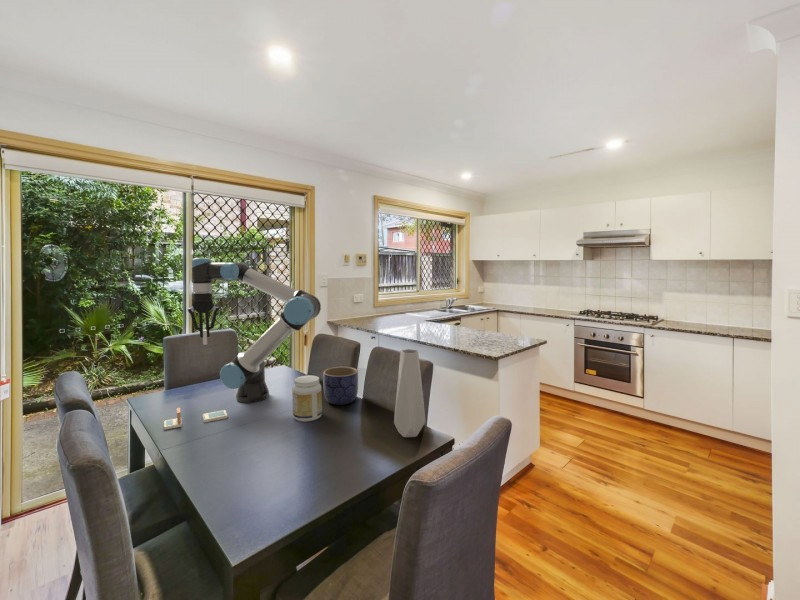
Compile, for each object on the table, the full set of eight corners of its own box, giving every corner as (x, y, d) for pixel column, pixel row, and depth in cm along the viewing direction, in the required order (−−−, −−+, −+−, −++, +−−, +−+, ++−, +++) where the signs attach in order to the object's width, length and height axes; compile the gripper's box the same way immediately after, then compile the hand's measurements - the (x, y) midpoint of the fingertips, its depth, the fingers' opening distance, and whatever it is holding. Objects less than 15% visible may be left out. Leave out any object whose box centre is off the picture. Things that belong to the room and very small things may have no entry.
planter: (365, 399, 183) (365, 369, 182) (342, 410, 170) (342, 378, 168) (339, 393, 192) (339, 364, 191) (316, 403, 178) (315, 372, 177)
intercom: (181, 420, 158) (180, 407, 157) (181, 426, 152) (181, 412, 151) (164, 423, 155) (163, 409, 154) (164, 429, 149) (163, 415, 148)
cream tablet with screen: (225, 412, 167) (225, 409, 167) (227, 418, 161) (227, 415, 161) (202, 416, 162) (202, 413, 162) (203, 422, 156) (203, 419, 156)
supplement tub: (312, 409, 171) (311, 372, 169) (327, 416, 162) (326, 378, 161) (287, 416, 162) (286, 378, 161) (302, 425, 154) (301, 385, 152)
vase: (388, 429, 150) (388, 349, 147) (414, 425, 154) (415, 346, 151) (400, 443, 139) (400, 356, 136) (428, 437, 143) (429, 353, 140)
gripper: (217, 291, 175) (219, 341, 177) (185, 292, 168) (188, 344, 170) (219, 292, 168) (221, 344, 171) (186, 293, 162) (189, 347, 164)
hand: (205, 344), depth 170 cm, fingers closed
